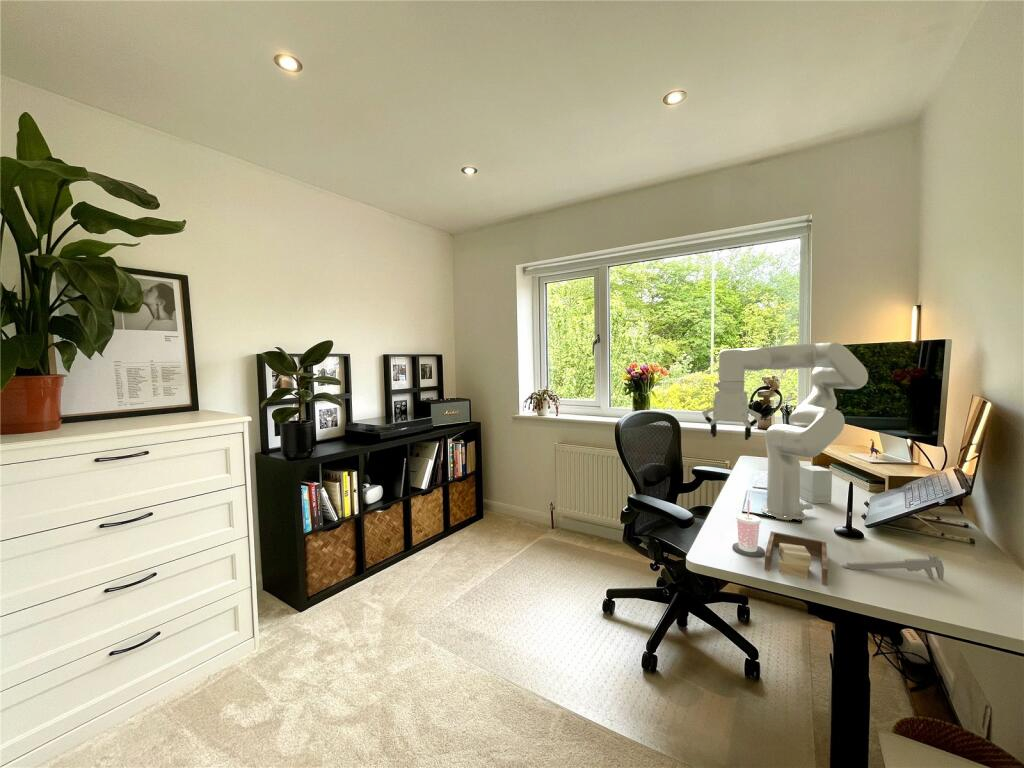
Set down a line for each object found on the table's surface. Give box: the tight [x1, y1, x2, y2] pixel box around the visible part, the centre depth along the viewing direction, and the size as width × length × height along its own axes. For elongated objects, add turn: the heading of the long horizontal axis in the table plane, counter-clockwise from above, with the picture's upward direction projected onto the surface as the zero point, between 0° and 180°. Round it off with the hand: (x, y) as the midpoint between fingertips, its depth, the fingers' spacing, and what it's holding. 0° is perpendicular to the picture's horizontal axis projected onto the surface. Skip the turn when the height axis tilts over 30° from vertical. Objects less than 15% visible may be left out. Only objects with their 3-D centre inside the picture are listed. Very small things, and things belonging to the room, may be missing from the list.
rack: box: [763, 531, 829, 586], centre depth 111 cm, size 18×13×4 cm
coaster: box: [732, 542, 766, 558], centre depth 119 cm, size 8×8×1 cm
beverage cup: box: [735, 499, 762, 552], centre depth 119 cm, size 6×6×14 cm
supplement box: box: [800, 465, 833, 504], centre depth 159 cm, size 7×7×13 cm
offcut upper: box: [778, 543, 812, 568], centre depth 107 cm, size 6×6×3 cm
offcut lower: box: [778, 557, 810, 580], centre depth 107 cm, size 6×6×3 cm
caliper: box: [841, 553, 945, 581], centre depth 106 cm, size 20×1×6 cm, turn 71°
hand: (730, 437), depth 139 cm, fingers open, 9 cm apart
